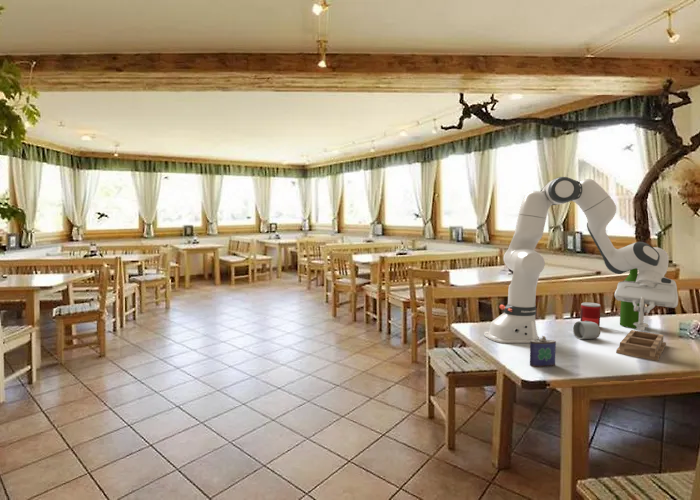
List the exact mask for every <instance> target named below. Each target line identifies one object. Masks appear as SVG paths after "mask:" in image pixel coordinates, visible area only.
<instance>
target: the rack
mask: <svg viewBox="0 0 700 500" xmlns="http://www.w3.org/2000/svg"><path fill="white" fill-rule="evenodd" d="M664 336H665V335H664V334H661V333H654V332H645V331H642V330H633V329H630V331H629V332H628V333H627V334H626V335H625V336H624V338H623V339H621V341H620V342H619V347H618V348H617V349H616V350H615V351H616V354H620V355H626V356H629V357H630V356H631V357H637V358H641V359H645V360H652V361H657V362H658V361H659V360H660V358H661V356H662V354H663V352H664V350H665V349H666V346H667V342H665V341H664Z"/></svg>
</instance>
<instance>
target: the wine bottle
mask: <svg viewBox="0 0 700 500" xmlns="http://www.w3.org/2000/svg"><path fill="white" fill-rule="evenodd" d="M638 273H639V270H638V269H637V268H635V269H632V270H629V274H628V275H627V277H626V278H625V279H624V280H623V281H634V282H636V279H637V276H638ZM639 305H640V304H639V303H638V304H637V306H639ZM619 312H620V313H619V325H620V326H621V327H624V328H629V329H637V327H636V326H635V325H633V323H635V322H638V321H639V319H638V318H639V316H638V315H639V312H637V311H634V305H633V302H626V301H620V311H619Z"/></svg>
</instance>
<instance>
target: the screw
mask: <svg viewBox="0 0 700 500" xmlns="http://www.w3.org/2000/svg"><path fill="white" fill-rule="evenodd" d="M639 304H640V305H639V315H638V316H639V318H638V319H639V321H638V322H635V323H633V325H635V326H636V327H637V328H636V331H642V332H645V328H648V327H649V324H648V323H646V322H645V313H644V308H645V307H646V305H645V304H644V298H643V297H641V298H640V303H639Z"/></svg>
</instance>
